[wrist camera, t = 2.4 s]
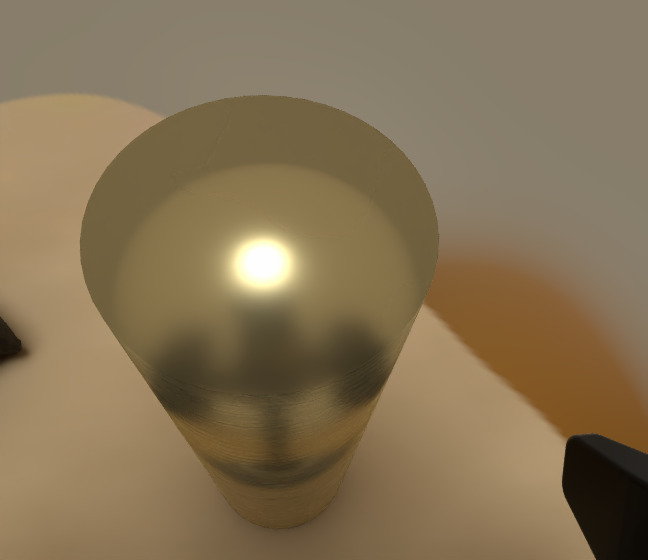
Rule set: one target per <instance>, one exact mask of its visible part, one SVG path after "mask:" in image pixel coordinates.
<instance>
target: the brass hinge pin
mask: <svg viewBox="0 0 648 560" xmlns="http://www.w3.org/2000/svg"><path fill="white" fill-rule="evenodd" d="M438 244H439V234H438V225H437V217H436V213H435V209H434V206H433V202H432V199H431V197H430V194H429V192H428V190H427V187H426V185H425V183H424V181H423V180H422V178H421V176H420V174H419V173H418V171H417V169H416V168H415V167H414V165H413V164H412V163H411V162H410V160H409V159H408V158H407V157H406V155H405V154H404V153H403V152H402V151H401V150H400V149H399V148H398V147H397V146H396V145H395V144H394V143H393V142H392V141H391V140H389V139H388V138H387V137H385V136H384V135H383V134H382V133H380V132H379V131H378V130H377V129H375V128H374V127H372V126H370V125H369V124H367V123H365V122H364V121H362V120H360V119H358V118H356V117H354V116H352V115H350V114H348V113H346V112H344V111H341V110H339V109H336V108H333V107H330V106H327V105H325V104H321V103H317V102H313V101H309V100H305V99H298V98H292V97H284V96H267V95H262V96H243V97H234V98H226V99H221V100H217V101H213V102H208V103H204V104H201V105H198V106H195V107H192V108H189V109H186V110H184V111H182V112H179V113H177V114H175V115H173V116H170V117H168V118H166V119H164V120H163V121H161V122H159V123H157V124H156V125H154V126H152V127H150V128H149V129H148V130H146V131H145V132H143V133H142V134H141V135H139V136H138V137H137V138H135V139H134V140H133V141H132V142H131V143H130V144H129V145H127V146H126V147H125V148H124V149H123V150H122V151H121V152H120V153H119V154H118V155H117V156H116V158H115V159H114V160H113V161H112V162H111V163H110V165H109V166H108V167H107V168H106V170H105V171H104V173H103V174H102V176H101V178H100V179H99V181H98V182H97V184H96V186H95V188H94V190H93V192H92V194H91V197H90V199H89V201H88V204H87V207H86V211H85V214H84V217H83V221H82V228H81V237H80V255H81V265H82V269H83V274H84V279H85V283H86V285H87V288H88V290H89V293H90V295H91V298H92V300H93V302H94V304H95V306H96V307H97V309H98V311H99V312H100V314H101V316H102V317H103V319H104V321H105V322H106V324H107V325H108V327H109V328H110V330H111V331H112V332H113V334H114V335H115V337H116V338H117V340H118V341H119V343H120V344H121V346H122V347H123V349H124V350H125V351H126V353H127V354H128V356H129V357H130V359H131V360H132V362H133V363H134V365H135V366H136V368H137V369H138V371H139V372H140V373H141V375H142V376H143V378H144V379H145V381H146V382H147V384H148V385H149V387H150V388H151V390H152V391H153V393H154V394H155V395H156V397H157V398H158V400H159V401H160V403H161V404H162V406H163V407H164V409H165V410H166V412H167V413H168V414H169V416H170V417H171V419H172V420H173V422H174V423H175V425H176V426H177V428H178V429H179V431H180V432H181V434H182V435H183V436H184V438H185V439H186V441H187V442H188V444H189V445H190V447H191V448H192V450H193V451H194V453H195V454H196V456H197V457H198V458H199V460H200V461H201V463H202V464H203V466H204V467H205V469H206V470H207V472H208V473H209V475H210V476H211V477H212V479H213V480H214V482H215V483H216V485H217V486H218V488H219V489H220V491H221V492H222V494H223V495H224V497H225V498H226V499H227V501H228V502H229V504H230V505H231V506H232V507H233V509H234V510H235V511H236V512H238V513H239V514H240V515H241V516H242V517H244V518H245V519H247V520H248V521H250V522H252V523H254V524H257V525H260V526H263V527H268V528H278V529H282V528H290V527H294V526H298V525H301V524H303V523H305V522H307V521H309V520H311V519H313V518H314V517H316V516H317V515H318V514H319V513H321V512H322V511H323V510H324V509H325V508H326V507H327V506H328V504H329V503H330V502H331V500H332V499H333V497H334V495H335V494H336V492H337V490H338V488H339V485H340V483H341V481H342V479H343V477H344V475H345V472H346V470H347V468H348V466H349V464H350V461H351V459H352V457H353V455H354V453H355V450H356V448H357V446H358V444H359V442H360V439H361V437H362V435H363V433H364V431H365V429H366V426H367V424H368V422H369V420H370V418H371V415H372V413H373V411H374V409H375V407H376V404H377V402H378V400H379V398H380V396H381V393H382V391H383V389H384V387H385V385H386V382H387V380H388V378H389V376H390V374H391V372H392V369H393V367H394V365H395V363H396V361H397V358H398V356H399V354H400V352H401V350H402V347H403V345H404V343H405V341H406V339H407V336H408V334H409V332H410V330H411V328H412V326H413V323H414V321H415V319H416V317H417V315H418V312H419V310H420V308H421V306H422V304H423V301H424V299H425V297H426V295H427V292H428V290H429V287H430V284H431V282H432V279H433V277H434V272H435V267H436V263H437V259H438Z"/></svg>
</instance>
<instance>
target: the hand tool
mask: <svg viewBox="0 0 648 560" xmlns="http://www.w3.org/2000/svg"><path fill="white" fill-rule="evenodd" d="M20 350H21V341H20V340H19V339H17V337H16V336H15V335H14V333H13V332H12V331H11V329H10V328H9V327H8V325H7V324H6V323H5V322H4V320H3V319H2V318H1V317H0V354H11V353H17V352H19V351H20Z"/></svg>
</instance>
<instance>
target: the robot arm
mask: <svg viewBox="0 0 648 560" xmlns="http://www.w3.org/2000/svg"><path fill="white" fill-rule="evenodd" d="M562 488H563V492H564V496H565V498H566V500H567V502H568V504H569V506H570V508H571V510H572V512H573V514H574V516H575V518H576V520H577V522H578V524H579V526H580V528H581V530H582V532H583V534H584V536H585V538H586V540H587V542H588V544H589V546H590V548H591V550H592V552H593V554H594V556H595V558H596V560H648V454H646V453H643V452H641V451H638V450H636V449H633V448H631V447H628V446H626V445H623V444H621V443H618V442H616V441H614V440H611V439H609V438H606V437H604V436H601V435H598V434H581V435H573V436H571V437H570V438H569V439H568V440H567V443H566V449H565V458H564V467H563V476H562Z"/></svg>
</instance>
